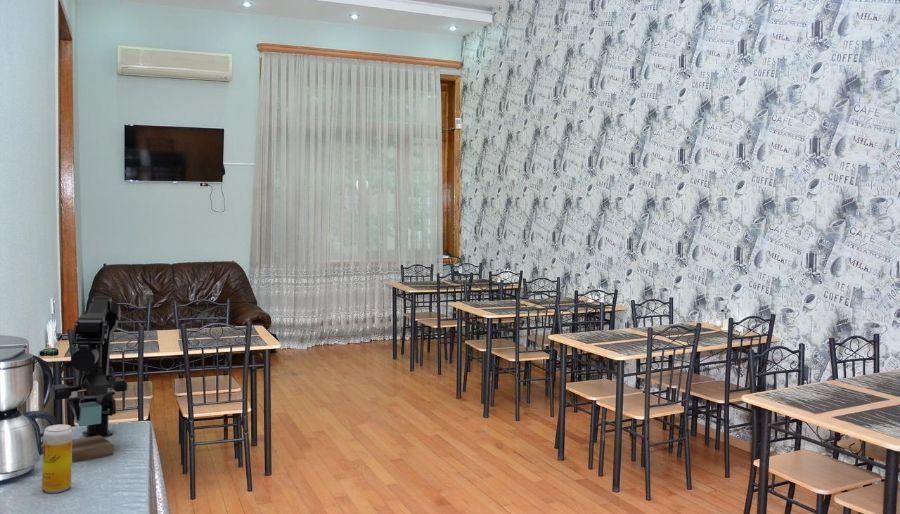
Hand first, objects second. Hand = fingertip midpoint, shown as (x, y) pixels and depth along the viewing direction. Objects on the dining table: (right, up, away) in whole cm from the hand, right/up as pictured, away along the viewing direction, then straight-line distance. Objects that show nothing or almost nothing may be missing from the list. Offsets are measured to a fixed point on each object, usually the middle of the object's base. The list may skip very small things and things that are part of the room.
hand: (88, 419), depth 195 cm
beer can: (+5, -12, -24) cm, 27 cm away
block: (0, -1, 0) cm, 1 cm away
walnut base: (0, -10, 0) cm, 10 cm away
